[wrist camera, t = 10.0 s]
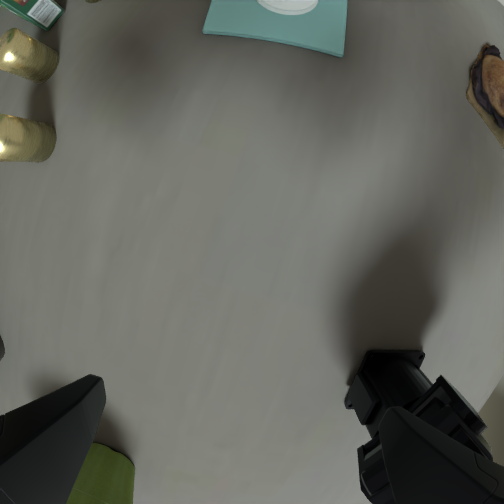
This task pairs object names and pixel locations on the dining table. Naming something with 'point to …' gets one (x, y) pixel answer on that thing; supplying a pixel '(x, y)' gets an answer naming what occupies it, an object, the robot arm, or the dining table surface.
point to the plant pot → (104, 478)
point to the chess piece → (289, 6)
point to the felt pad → (281, 24)
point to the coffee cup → (1, 349)
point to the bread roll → (489, 89)
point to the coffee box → (35, 11)
